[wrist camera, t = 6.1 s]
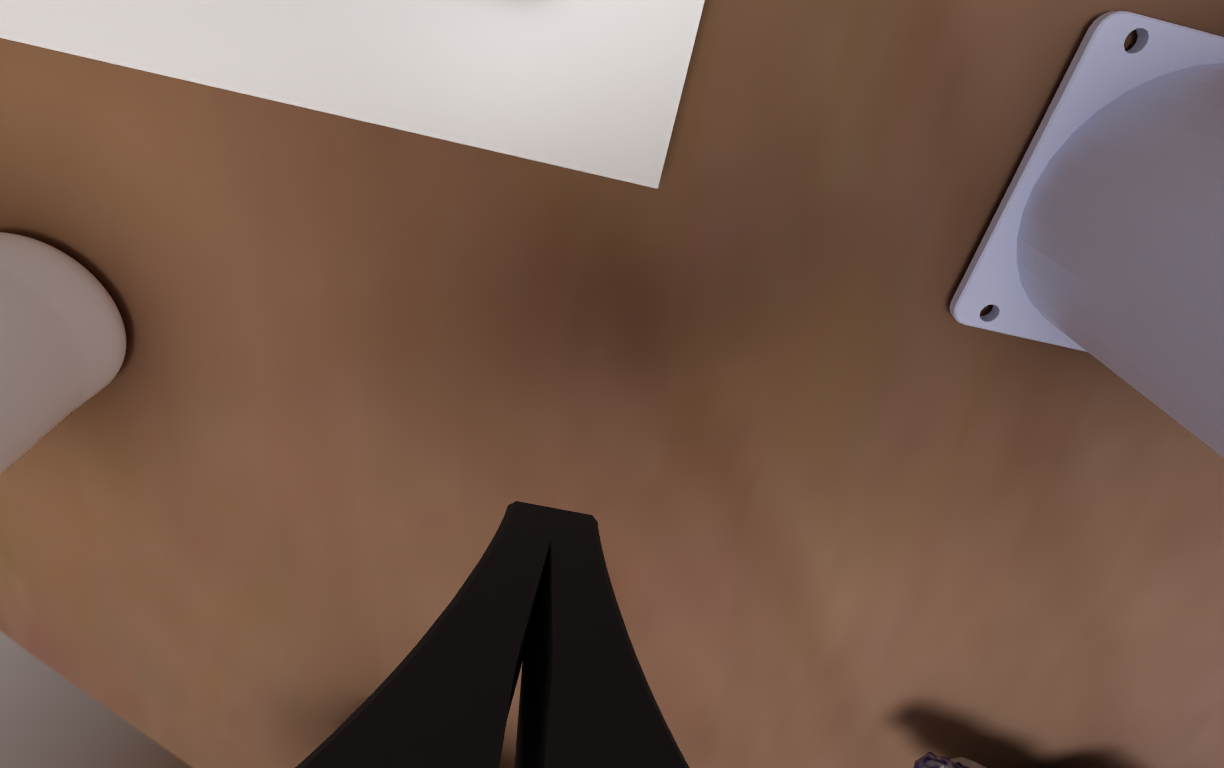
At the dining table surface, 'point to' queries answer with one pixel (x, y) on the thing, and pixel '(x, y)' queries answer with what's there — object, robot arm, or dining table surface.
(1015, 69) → the dining table surface
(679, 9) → the key panel
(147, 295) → the dining table surface
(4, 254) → the drinking glass
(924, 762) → the decorative bottle
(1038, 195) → the robot arm
